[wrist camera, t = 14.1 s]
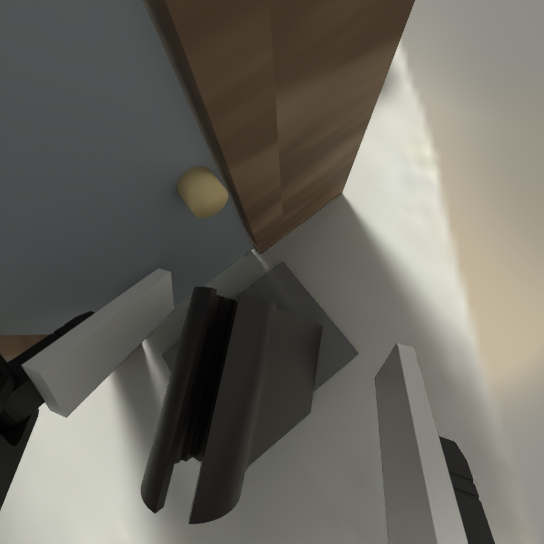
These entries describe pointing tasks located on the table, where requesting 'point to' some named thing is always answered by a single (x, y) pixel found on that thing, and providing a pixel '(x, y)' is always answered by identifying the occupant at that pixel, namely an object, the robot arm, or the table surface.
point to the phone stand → (230, 396)
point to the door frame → (276, 99)
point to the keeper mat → (300, 303)
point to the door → (99, 166)
